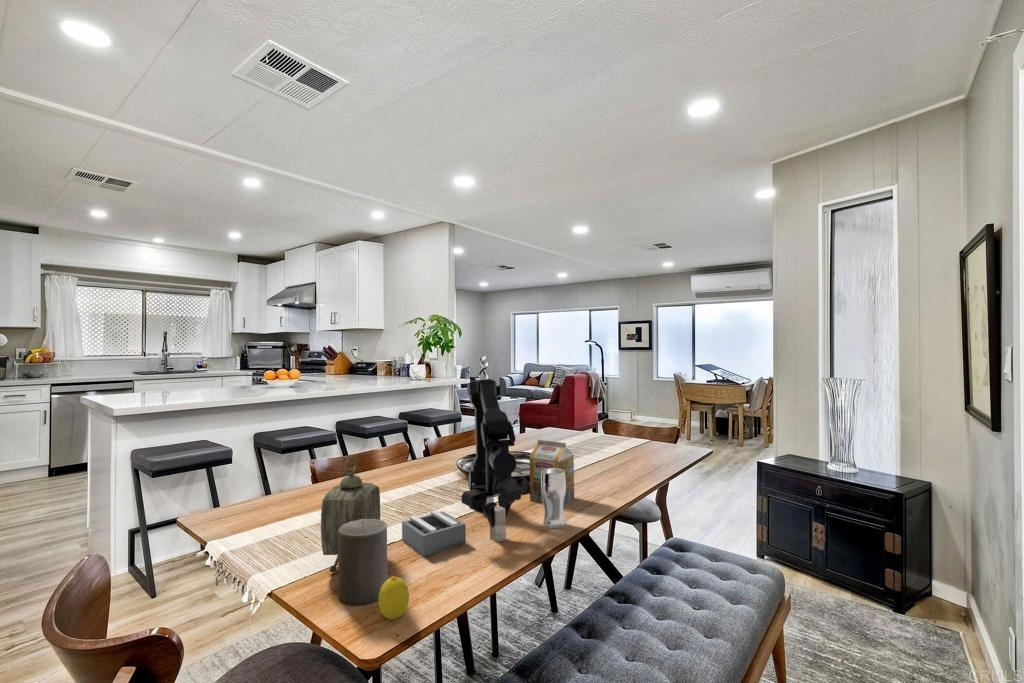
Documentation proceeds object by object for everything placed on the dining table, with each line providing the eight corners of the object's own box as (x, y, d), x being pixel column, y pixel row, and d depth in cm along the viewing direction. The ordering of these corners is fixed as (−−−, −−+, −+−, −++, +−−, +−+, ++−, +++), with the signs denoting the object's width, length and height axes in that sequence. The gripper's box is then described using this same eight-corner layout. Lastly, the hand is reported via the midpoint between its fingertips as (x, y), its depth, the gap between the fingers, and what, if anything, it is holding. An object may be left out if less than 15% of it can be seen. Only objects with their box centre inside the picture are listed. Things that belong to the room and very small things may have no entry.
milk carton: (530, 501, 152) (529, 442, 152) (546, 492, 160) (545, 436, 160) (558, 507, 146) (557, 446, 146) (574, 497, 154) (573, 439, 154)
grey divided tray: (402, 540, 122) (401, 518, 122) (442, 529, 130) (442, 508, 130) (423, 557, 113) (422, 532, 113) (465, 543, 120) (465, 520, 120)
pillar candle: (341, 611, 90) (341, 533, 90) (335, 587, 99) (335, 516, 99) (392, 598, 95) (392, 524, 95) (382, 577, 103) (382, 509, 103)
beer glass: (565, 529, 128) (564, 474, 128) (540, 528, 129) (539, 473, 129) (567, 520, 135) (566, 468, 135) (543, 518, 136) (542, 467, 136)
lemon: (381, 612, 90) (381, 570, 90) (411, 610, 90) (410, 568, 90) (375, 629, 84) (375, 585, 84) (407, 627, 85) (406, 583, 85)
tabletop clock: (346, 549, 118) (345, 449, 118) (382, 548, 118) (380, 449, 118) (321, 577, 103) (319, 464, 104) (362, 577, 103) (360, 464, 103)
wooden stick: (489, 538, 123) (489, 508, 123) (499, 535, 125) (498, 505, 125) (496, 542, 120) (496, 511, 120) (505, 539, 122) (505, 508, 122)
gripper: (484, 479, 110) (485, 545, 110) (543, 465, 122) (544, 525, 122) (459, 469, 119) (460, 530, 119) (517, 457, 131) (518, 513, 131)
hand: (497, 525), depth 122 cm, fingers closed on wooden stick, 3 cm apart
